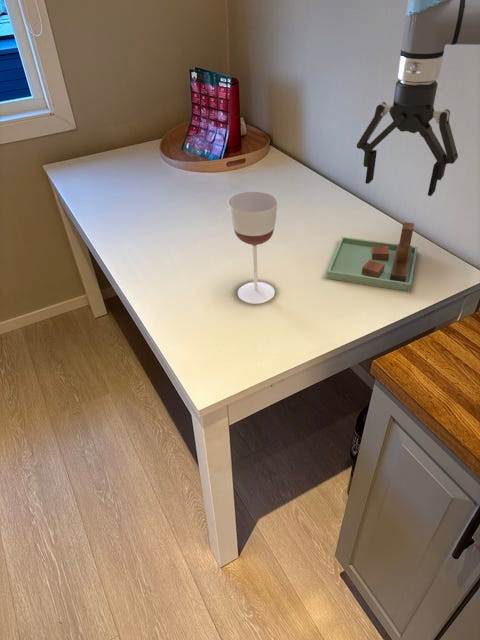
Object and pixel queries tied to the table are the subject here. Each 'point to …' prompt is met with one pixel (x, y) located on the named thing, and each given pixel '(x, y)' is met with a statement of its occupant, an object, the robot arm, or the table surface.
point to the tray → (357, 254)
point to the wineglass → (254, 235)
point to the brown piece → (402, 254)
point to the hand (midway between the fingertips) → (399, 187)
